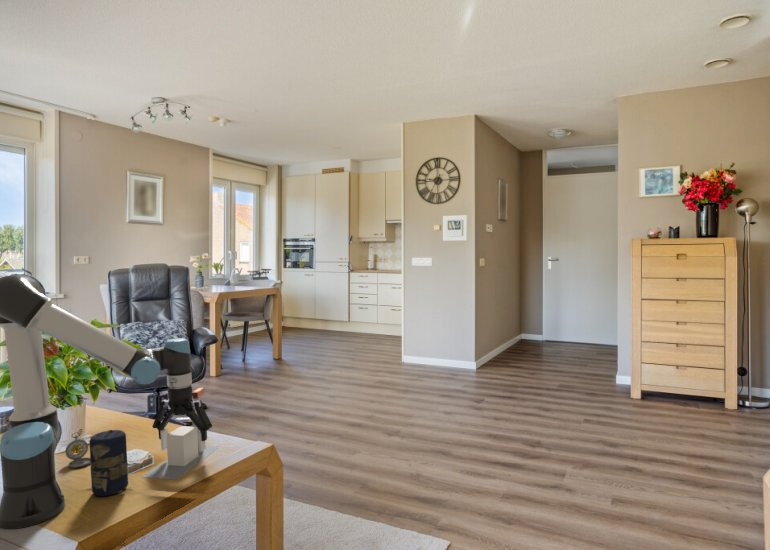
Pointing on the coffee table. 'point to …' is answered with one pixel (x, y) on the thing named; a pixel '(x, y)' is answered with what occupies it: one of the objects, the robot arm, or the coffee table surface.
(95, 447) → the canister
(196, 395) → the multicoloured piece
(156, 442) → the coffee table surface
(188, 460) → the white block
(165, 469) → the gray post stand
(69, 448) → the pocket watch
